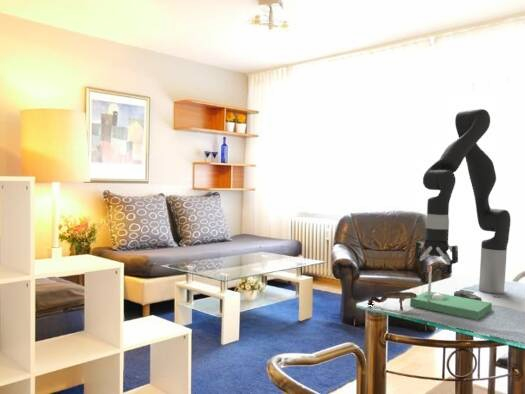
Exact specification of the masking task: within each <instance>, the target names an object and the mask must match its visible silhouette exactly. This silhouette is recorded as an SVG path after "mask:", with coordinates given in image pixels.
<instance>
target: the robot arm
mask: <svg viewBox="0 0 525 394" xmlns="http://www.w3.org/2000/svg"><path fill="white" fill-rule="evenodd" d="M455 115H456V116H455V117H454V120H455V121H454V124H455V128H456V133H457V136H458V138H457V139H455V140H454V141H453V142H451V143H449V145H448V146H446V148H445V150H444V151H443V153H442V154H441V156H440V157H439V159H438V160H437V161H435V162H434V163H433V164H431V166H430V167H429V168H428V169H427V170H426V171H425V172H424V175H423V177H422V184H423V186H424V187H425V189H427V190H432V191H439V193H438V195H437V196H430V197H429V198H428V199H427V206H426V207H427V208H426V218H425V233H424V235H425V238H424V239H425V240H424V242H422V241H417V242H415V249H414V250H415V251H414V258H415V259H416V260H419V269H420V272H422V273H424V272H426V271H427V265H426V264H427V261H426V259H427V258H428V257H429V256H431V257H436V258H437V257H438V258H439V257H441V258H442V260H444V262H445V263H446V264H445V276H450V275H451V274H452V270H453V264H456V263H458V262H459V250H458V249H459V246H458V245H456V244H455V245H450V244H449V232H450V231H449V229H450V217H449V214H450V212H449V211H450V210H449V209H450V208H449V207H450V201H451V197H452V194H453V191H454V189H455V185H456V175H455V174H454V173H456V172H457V170H459V168H460V167H461V164H462V162H463V161H464V159H465V161H466V166H467V171H468V172H467V173H468V175H469V181H470V183H471V187H472V191H473V196H474V202H475V207H476V208H475V209H476V215H477V216H476V217H477V224H478V225H479V227H480V229H481V230H482V231H486V232H493V233H494V235H493V236H492V237H491V238H488V239H484V240H482V241H481V246H480V247H481V248H480V264H479V265H480V267H479V279H478V280H479V283H478V290H479V291H480V292H484V293H489V294H504V293H505V287H506V286H505V284H506V271H507V270H506V269H507V268H506V267H507V250H508V244H509V240H510V239H509V238H510V230H511V214H510V212H509V211H508V210H507V209H499V208H491V206H490V203H489V202H490V200H489V199H490V198H489V197H490V195H491V192H492V191H493V189H494V187H495V184H496V181H497V173H496V169H495V166H494V162H493V160H492V159H491V158H490V156H489V155H488V154H487V153H485V151H483V150H482V148H481V147H480V146H479V145H478V144H477V143H478V142H479V140H480V139H481V138H482V137H483V136H484V135H485V133H487V131H488V130H489V128H490V124H491V116H490V114H489V112H488V110H487V109H484V108H476V109H469V110H462V111H458V112H457V113H456V114H455ZM423 248H424V249H425V251H424V252H423V254H422V249H423ZM448 250H449V251H450V253H451V256H450V255H449V253H448Z"/></svg>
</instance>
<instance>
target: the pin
mask: <svg viewBox="0 0 525 394" xmlns="http://www.w3.org/2000/svg"><path fill="white" fill-rule="evenodd" d="M426 272H427V273H428V285H427V286H428V287H427V289H428V290H427V291H428V301H429V302H430V295H431V292H432V272H433V266H432V265H429V266H426Z"/></svg>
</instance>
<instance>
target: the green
mask: <svg viewBox="0 0 525 394" xmlns="http://www.w3.org/2000/svg"><path fill="white" fill-rule="evenodd" d="M434 294H441V295H442V296H443V298H444V299H443V300H436V299H432V296H433V295H434ZM416 295H417V294H416ZM409 300H410V303H409V306H410V307H414V308H415V307H416V308H420V309H426V310H430V311H434V312H440V313H444V314H450V315H453V316H459V317H462V318H463V317H464V318H469V319H473V320H479V319H481V318H482V317H484V316H485V315H487V314H488V313H490V312H491V311H492V310H493V309H492V308H493V304H492V302H489V301H483V300H482V301H479V300H474V299H468V298H463V297H457V296H454V295H450V294H445V293H439V292H434V291H431V295H430V302H429V301H428V290H427V291H425V292H423V293H420V294H418V295H417V298H409Z"/></svg>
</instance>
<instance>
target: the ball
mask: <svg viewBox="0 0 525 394" xmlns="http://www.w3.org/2000/svg"><path fill="white" fill-rule="evenodd" d="M441 294H442V293H441ZM441 294H434V295H433V296H432V299H436V300H443V299H444V298H443V296H442V295H441Z"/></svg>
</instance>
